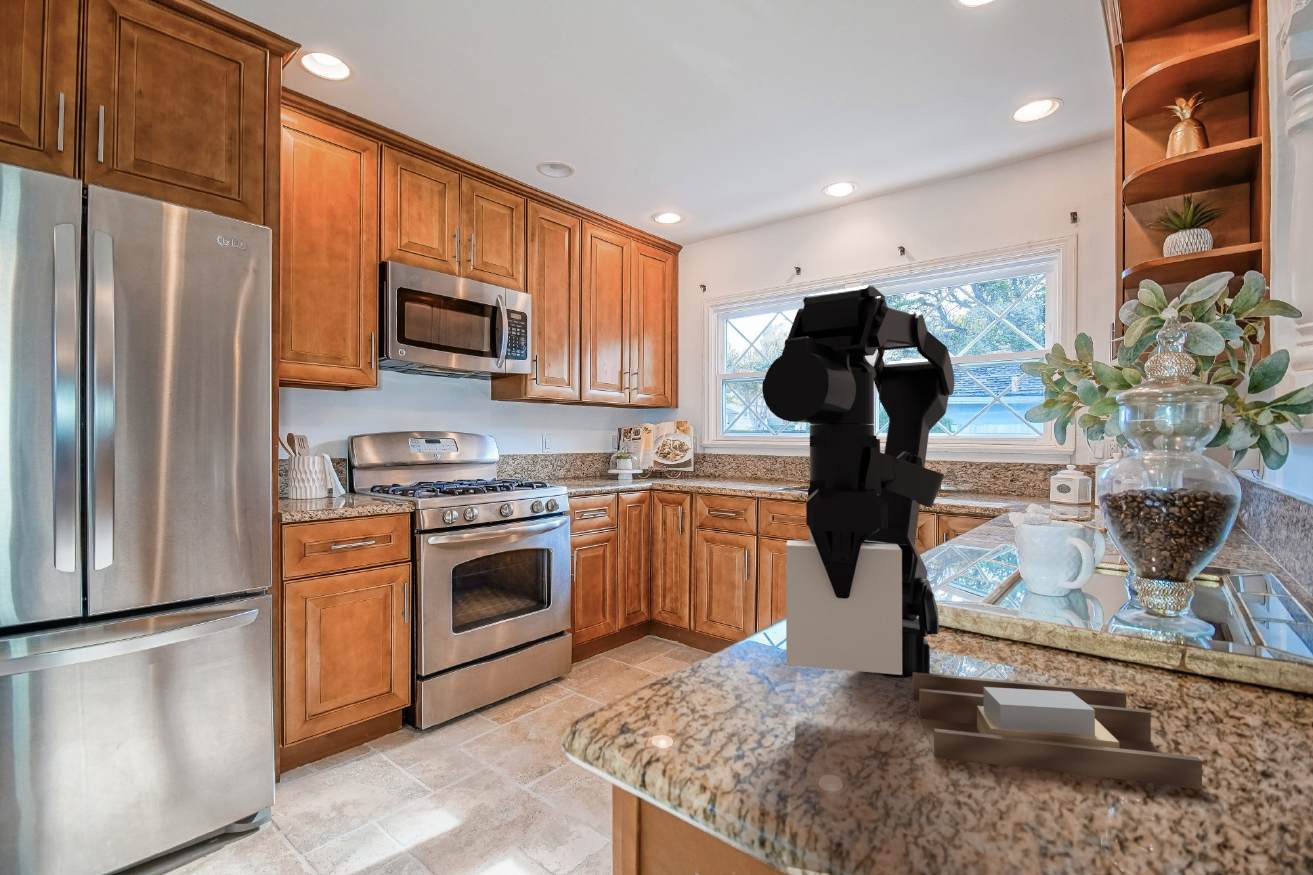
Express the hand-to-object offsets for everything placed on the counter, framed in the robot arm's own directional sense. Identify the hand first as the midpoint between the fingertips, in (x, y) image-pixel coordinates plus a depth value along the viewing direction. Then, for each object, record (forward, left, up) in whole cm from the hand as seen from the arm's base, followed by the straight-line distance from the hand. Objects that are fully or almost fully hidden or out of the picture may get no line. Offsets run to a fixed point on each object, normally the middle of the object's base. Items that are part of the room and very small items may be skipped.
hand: (841, 593), depth 57 cm
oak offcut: (+16, -2, -11) cm, 20 cm away
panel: (0, 0, -6) cm, 6 cm away
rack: (+16, +1, -13) cm, 20 cm away
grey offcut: (+15, -2, -9) cm, 18 cm away
